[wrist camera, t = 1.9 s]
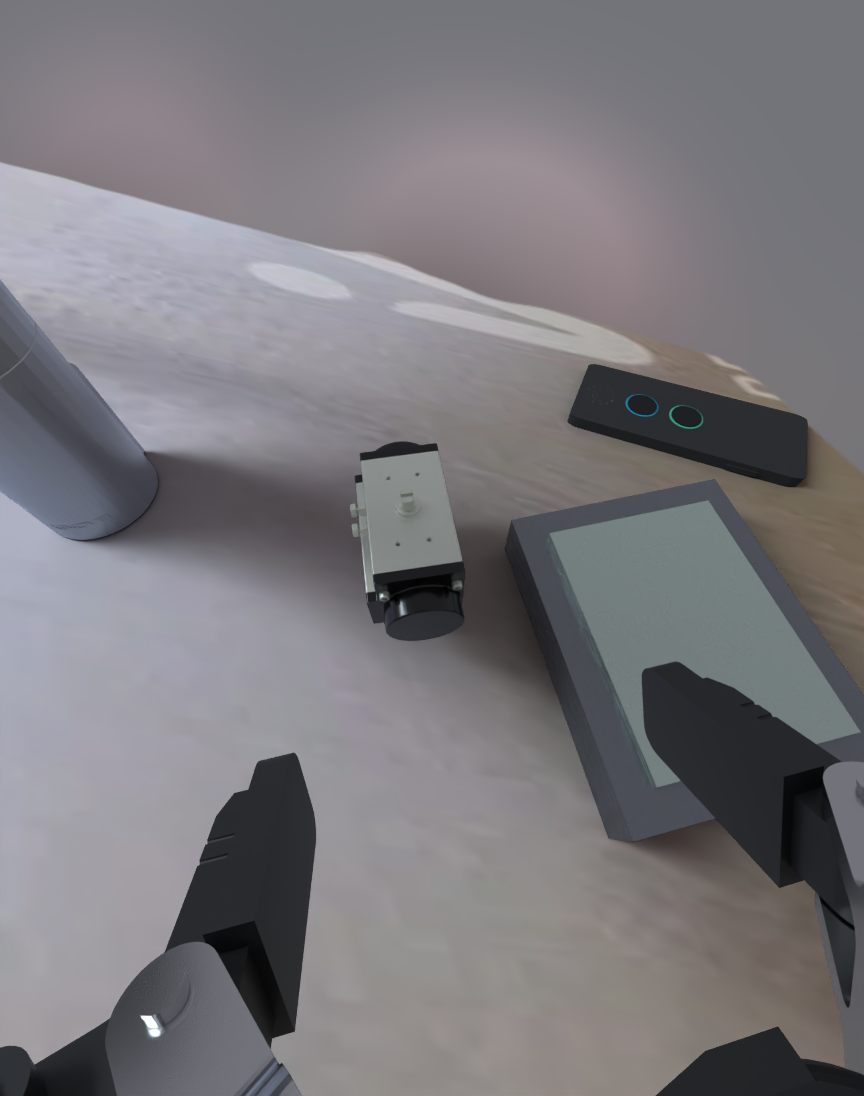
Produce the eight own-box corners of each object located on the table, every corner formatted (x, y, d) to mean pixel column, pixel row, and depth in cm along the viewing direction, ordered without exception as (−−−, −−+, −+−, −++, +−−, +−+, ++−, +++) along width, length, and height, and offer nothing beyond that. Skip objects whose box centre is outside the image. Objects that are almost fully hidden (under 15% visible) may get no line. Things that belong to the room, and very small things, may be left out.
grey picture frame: (504, 548, 37) (512, 515, 33) (690, 509, 38) (718, 474, 34) (608, 838, 27) (638, 842, 23) (852, 769, 28) (920, 762, 24)
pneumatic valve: (434, 522, 38) (433, 412, 28) (461, 661, 32) (472, 587, 22) (367, 532, 38) (340, 423, 27) (382, 674, 32) (355, 605, 21)
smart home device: (590, 360, 46) (809, 414, 42) (585, 374, 47) (796, 428, 43) (568, 414, 42) (807, 481, 38) (564, 428, 44) (793, 494, 39)
